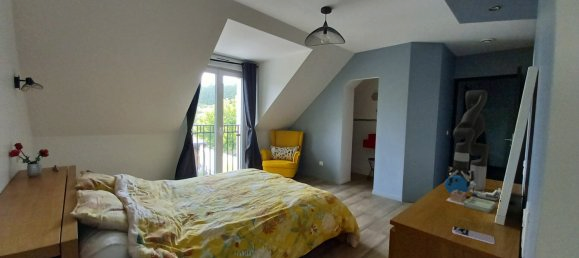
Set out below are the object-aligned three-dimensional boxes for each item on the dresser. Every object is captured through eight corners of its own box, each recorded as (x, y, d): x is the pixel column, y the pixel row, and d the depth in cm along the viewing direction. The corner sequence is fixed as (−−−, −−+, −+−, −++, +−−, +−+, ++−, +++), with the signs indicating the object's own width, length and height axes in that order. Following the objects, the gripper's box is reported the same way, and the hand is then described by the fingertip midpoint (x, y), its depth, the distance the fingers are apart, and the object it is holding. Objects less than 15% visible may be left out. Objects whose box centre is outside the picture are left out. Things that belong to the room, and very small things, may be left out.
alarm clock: (469, 196, 159) (470, 174, 158) (467, 198, 155) (469, 176, 153) (446, 191, 168) (447, 170, 167) (443, 193, 164) (445, 171, 163)
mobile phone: (494, 243, 101) (452, 231, 110) (494, 245, 101) (452, 233, 111) (493, 235, 107) (453, 225, 116) (493, 237, 107) (453, 227, 117)
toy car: (467, 182, 159) (468, 178, 168) (466, 196, 160) (467, 192, 169) (503, 188, 147) (502, 184, 156) (502, 203, 148) (501, 198, 157)
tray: (471, 200, 152) (471, 196, 152) (494, 206, 143) (495, 202, 143) (464, 206, 142) (464, 202, 142) (489, 213, 133) (489, 208, 133)
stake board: (452, 196, 158) (453, 185, 158) (469, 200, 151) (470, 189, 151) (446, 200, 150) (446, 189, 149) (463, 205, 143) (464, 194, 142)
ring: (455, 196, 157) (456, 189, 157) (466, 198, 153) (467, 192, 152) (449, 199, 150) (450, 193, 150) (461, 202, 145) (461, 195, 145)
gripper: (477, 161, 146) (474, 187, 147) (450, 157, 157) (448, 181, 158) (473, 162, 141) (471, 189, 142) (446, 158, 152) (444, 183, 153)
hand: (459, 185), depth 150 cm, fingers open, 8 cm apart
